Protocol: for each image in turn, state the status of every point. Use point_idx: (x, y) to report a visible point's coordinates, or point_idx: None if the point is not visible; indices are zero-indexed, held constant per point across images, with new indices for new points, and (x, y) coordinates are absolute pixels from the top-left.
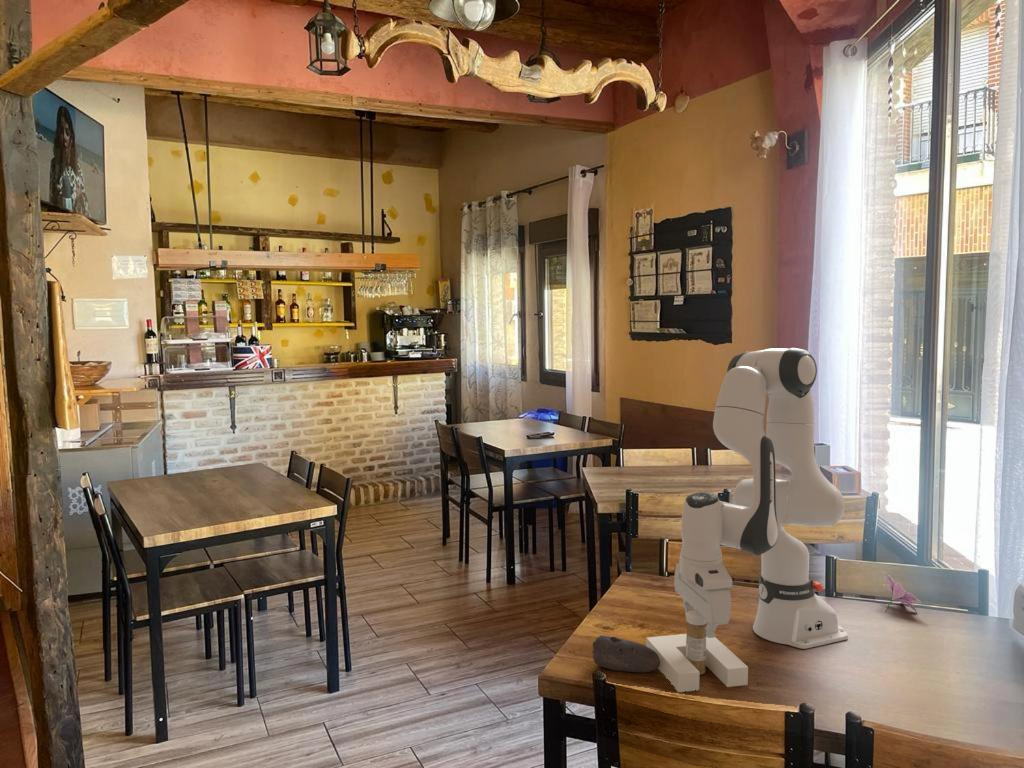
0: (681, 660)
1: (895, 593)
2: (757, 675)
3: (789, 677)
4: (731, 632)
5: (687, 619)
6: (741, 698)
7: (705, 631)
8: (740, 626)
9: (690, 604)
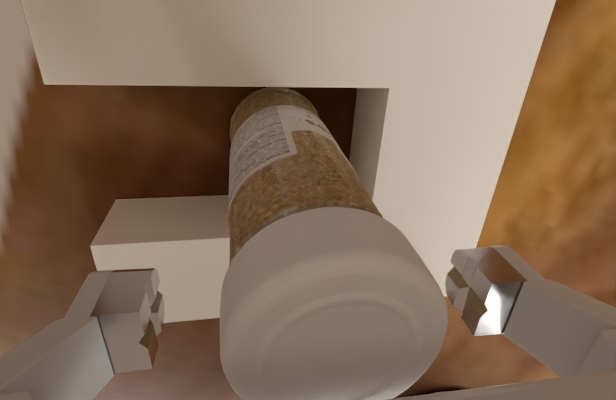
0: (217, 39)
1: None
2: (202, 321)
3: (177, 389)
4: (482, 341)
5: (329, 223)
6: (14, 214)
7: (117, 293)
8: (499, 370)
9: (455, 397)
